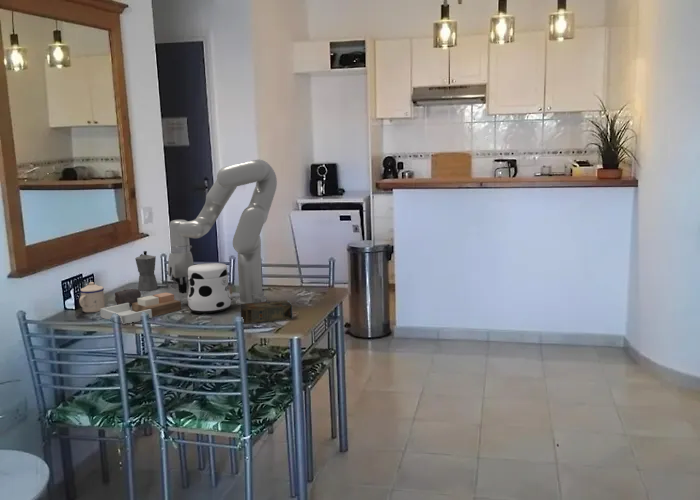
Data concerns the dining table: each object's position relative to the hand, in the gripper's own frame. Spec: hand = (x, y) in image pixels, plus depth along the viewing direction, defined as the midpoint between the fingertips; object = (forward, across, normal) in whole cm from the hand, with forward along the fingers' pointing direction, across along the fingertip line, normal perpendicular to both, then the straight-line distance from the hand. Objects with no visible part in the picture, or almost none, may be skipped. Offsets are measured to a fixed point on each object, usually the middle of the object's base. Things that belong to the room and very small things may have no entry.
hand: (182, 292), depth 275 cm
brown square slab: (+5, +13, 0) cm, 14 cm away
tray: (+5, +26, 0) cm, 27 cm away
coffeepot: (+6, -7, -41) cm, 42 cm away
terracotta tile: (+2, +9, 0) cm, 9 cm away
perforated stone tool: (+6, +15, -19) cm, 24 cm away
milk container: (+5, -1, +17) cm, 18 cm away
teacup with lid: (+6, +30, -22) cm, 37 cm away
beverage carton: (+5, -7, +46) cm, 47 cm away
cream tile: (+2, +16, 0) cm, 16 cm away
